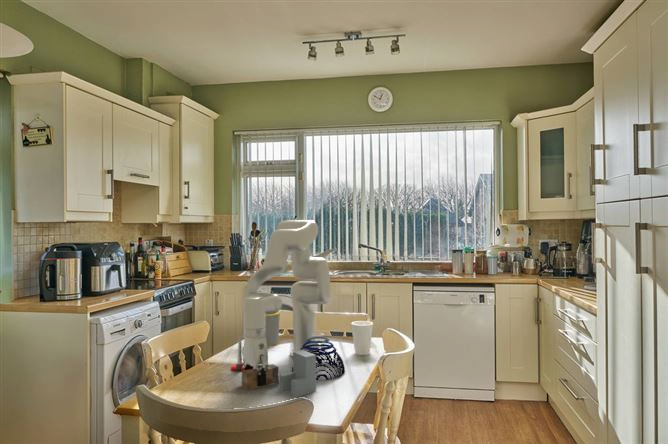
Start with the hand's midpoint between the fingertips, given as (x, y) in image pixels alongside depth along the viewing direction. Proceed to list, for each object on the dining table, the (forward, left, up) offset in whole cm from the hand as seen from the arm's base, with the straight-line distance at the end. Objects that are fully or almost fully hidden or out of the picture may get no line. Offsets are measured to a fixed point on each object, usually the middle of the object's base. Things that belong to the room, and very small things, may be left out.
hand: (255, 381), depth 156 cm
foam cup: (-56, -8, -2) cm, 57 cm away
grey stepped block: (-9, +13, -1) cm, 16 cm away
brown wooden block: (-2, 0, -1) cm, 2 cm away
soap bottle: (-31, -49, -2) cm, 58 cm away
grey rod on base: (-6, -22, -2) cm, 23 cm away
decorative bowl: (-26, +1, -2) cm, 26 cm away
